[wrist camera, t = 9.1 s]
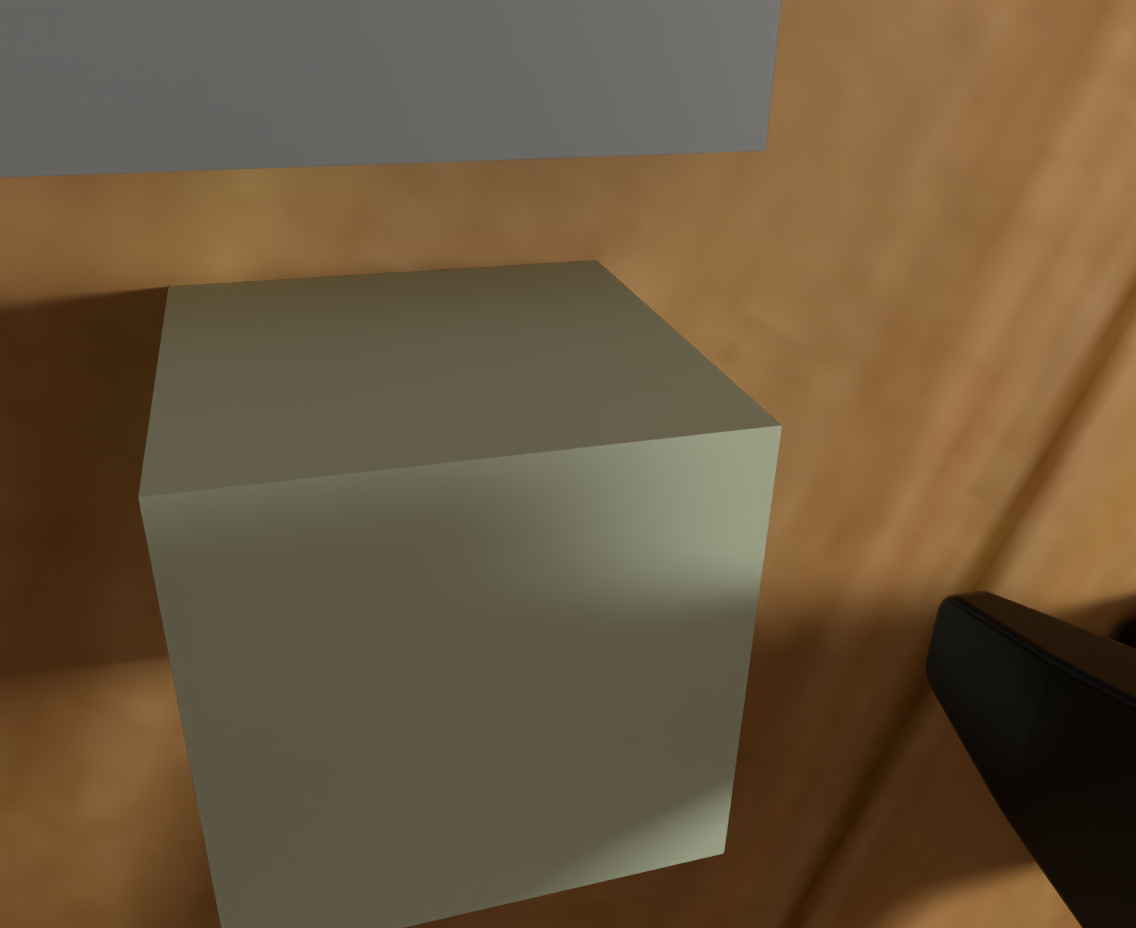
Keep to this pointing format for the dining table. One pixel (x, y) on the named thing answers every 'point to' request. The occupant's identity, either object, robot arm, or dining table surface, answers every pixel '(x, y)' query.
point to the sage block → (450, 586)
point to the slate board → (376, 81)
